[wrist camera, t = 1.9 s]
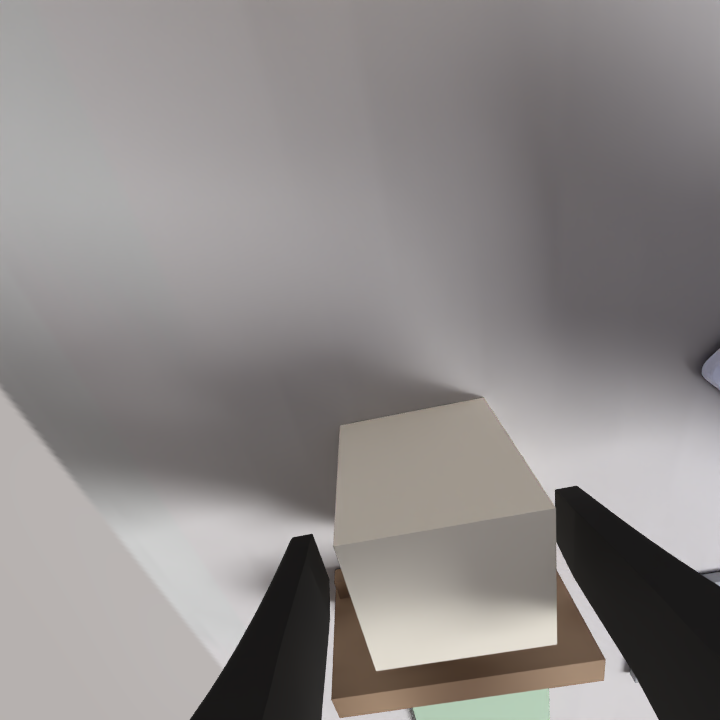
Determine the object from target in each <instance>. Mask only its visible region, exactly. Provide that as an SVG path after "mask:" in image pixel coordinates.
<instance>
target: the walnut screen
mask: <svg viewBox="0 0 720 720" xmlns="http://www.w3.org/2000/svg"><path fill="white" fill-rule="evenodd" d="M556 582H557V645H550V646H543V647H536V648H530V649H523V650H516V651H509V652H503V653H496V654H489V655H482V656H476V657H469V658H462V659H455V660H448V661H442V662H435V663H428V664H421V665H415V666H408V667H401V668H394V669H388V670H381V671H376V669H375V666H374V664H373V661H372V658H371V655H370V652H369V649H368V646H367V643H366V640H365V637H364V634H363V632H362V629H361V626H360V623H359V620H358V617H357V614H356V611H355V608H354V605H353V603H352V600H351V597H350V594H349V591H348V588H347V585H346V582H345V579H344V576H343V573H342V571H341V569H337V570H335V581H334V584H335V586H336V600H335V624H334V648H333V673H332V697H331V700H332V702H333V704H334V706H335V709H336V711H337V713H338V715H339V717H340V718H344V717H351V716H358V715H365V714H372V713H379V712H386V711H393V710H400V709H407V708H414V707H421V706H428V705H435V704H442V703H449V702H456V701H463V700H470V699H477V698H484V697H492V696H499V695H506V694H513V693H520V692H527V691H534V690H541V689H548V688H555V687H562V686H569V685H576V684H583V683H590V682H597V681H604V672H605V658H604V656H603V654H602V652H601V651H600V649H599V647H598V645H597V643H596V641H595V640H594V638H593V636H592V634H591V632H590V630H589V629H588V627H587V625H586V623H585V621H584V619H583V618H582V616H581V614H580V612H579V610H578V608H577V607H576V605H575V603H574V601H573V599H572V597H571V596H570V594H569V592H568V590H567V588H566V586H565V585H564V583H563V581H562V579H561V577H560V575H559V574H558V572H557V570H556Z"/></svg>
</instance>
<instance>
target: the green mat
mask: <svg viewBox="0 0 720 720" xmlns="http://www.w3.org/2000/svg"><path fill="white" fill-rule="evenodd" d="M413 711H414V714H415V717H416V720H550V712H549V688H548V689H541V690H534V691H527V692H520V693H513V694H506V695H499V696H492V697H484V698H477V699H470V700H463V701H456V702H449V703H442V704H435V705H428V706H421V707H414V708H413Z"/></svg>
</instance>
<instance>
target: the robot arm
mask: <svg viewBox="0 0 720 720" xmlns="http://www.w3.org/2000/svg"><path fill="white" fill-rule="evenodd" d="M702 376H703V377H704V378H705V379H706V380H707V381H709V382H710V383H711V384H713V385H714V386H715V387H717V388H718V389H719V390H720V348H719V349H718V350H717V351H716V352H715V353H714V354H713V355H712V356H711V357H710V358H709V359H708V360H707V361H706V362H705V363H704V365H703V368H702ZM555 508H556V542H557V544H558V546H559V548H560V550H561V552H562V555H563V557H564V559H565V561H566V563H567V565H568V567H569V569H570V571H571V573H572V575H573V577H574V578H575V580H576V582H577V583H578V585H579V587H580V588H581V590H582V591H583V593H584V595H585V596H586V598H587V599H588V601H589V603H590V604H591V606H592V608H593V609H594V611H595V612H596V614H597V615H598V617H599V619H600V620H601V622H602V623H603V625H604V627H605V628H606V630H607V631H608V633H609V635H610V636H611V638H612V639H613V641H614V643H615V644H616V646H617V647H618V649H619V651H620V652H621V654H622V655H623V657H624V658H625V660H626V662H627V663H628V665H629V666H630V668H631V670H632V672H633V673H634V675H635V677H636V678H637V680H638V682H639V684H640V685H641V687H642V689H643V691H644V693H645V695H646V696H647V698H648V700H649V702H650V704H651V706H652V708H653V710H654V712H655V713H656V715H657V717H658V719H659V720H720V586H719V585H717V584H716V583H714V582H712V581H711V580H709V579H708V578H706V577H704V576H703V575H701V574H700V573H698V572H697V571H695V570H694V569H692V568H691V567H689V566H688V565H686V564H684V563H683V562H681V561H680V560H678V559H677V558H675V557H674V556H672V555H671V554H670V553H668V552H667V551H665V550H664V549H662V548H661V547H659V546H658V545H657V544H655V543H654V542H652V541H651V540H649V539H648V538H647V537H645V536H644V535H642V534H641V533H639V532H638V531H637V530H635V529H634V528H633V527H631V526H630V525H628V524H627V523H626V522H624V521H623V520H622V519H620V518H619V517H618V516H616V515H615V514H614V513H612V512H611V511H610V510H608V509H607V508H606V507H604V506H603V505H602V504H600V503H599V502H598V501H596V500H595V499H594V498H592V497H591V496H590V495H589V494H587V493H586V492H585V491H583V490H582V489H581V488H579V487H578V486H573V487H567V488H562V489H556V490H555ZM329 623H330V588H329V577H328V575H327V572H326V569H325V566H324V564H323V561H322V558H321V556H320V553H319V550H318V547H317V545H316V542H315V539H314V537H313V534H309V535H303V536H298V537H293V538H292V539H291V541H290V543H289V545H288V547H287V550H286V552H285V554H284V556H283V558H282V561H281V563H280V565H279V567H278V569H277V571H276V573H275V576H274V578H273V580H272V582H271V584H270V586H269V588H268V590H267V592H266V594H265V596H264V598H263V600H262V602H261V604H260V606H259V608H258V610H257V611H256V613H255V615H254V617H253V619H252V621H251V623H250V624H249V626H248V628H247V630H246V631H245V633H244V635H243V637H242V639H241V640H240V642H239V644H238V646H237V647H236V649H235V651H234V653H233V654H232V656H231V658H230V659H229V661H228V663H227V664H226V666H225V667H224V669H223V671H222V672H221V674H220V675H219V677H218V679H217V680H216V682H215V683H214V685H213V686H212V688H211V690H210V691H209V693H208V694H207V695H206V697H205V699H204V700H203V702H202V703H201V704H200V706H199V707H198V709H197V710H196V711H195V713H194V714H193V716H192V717H191V719H190V720H321V718H322V704H323V693H324V682H325V670H326V659H327V647H328V635H329Z"/></svg>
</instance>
